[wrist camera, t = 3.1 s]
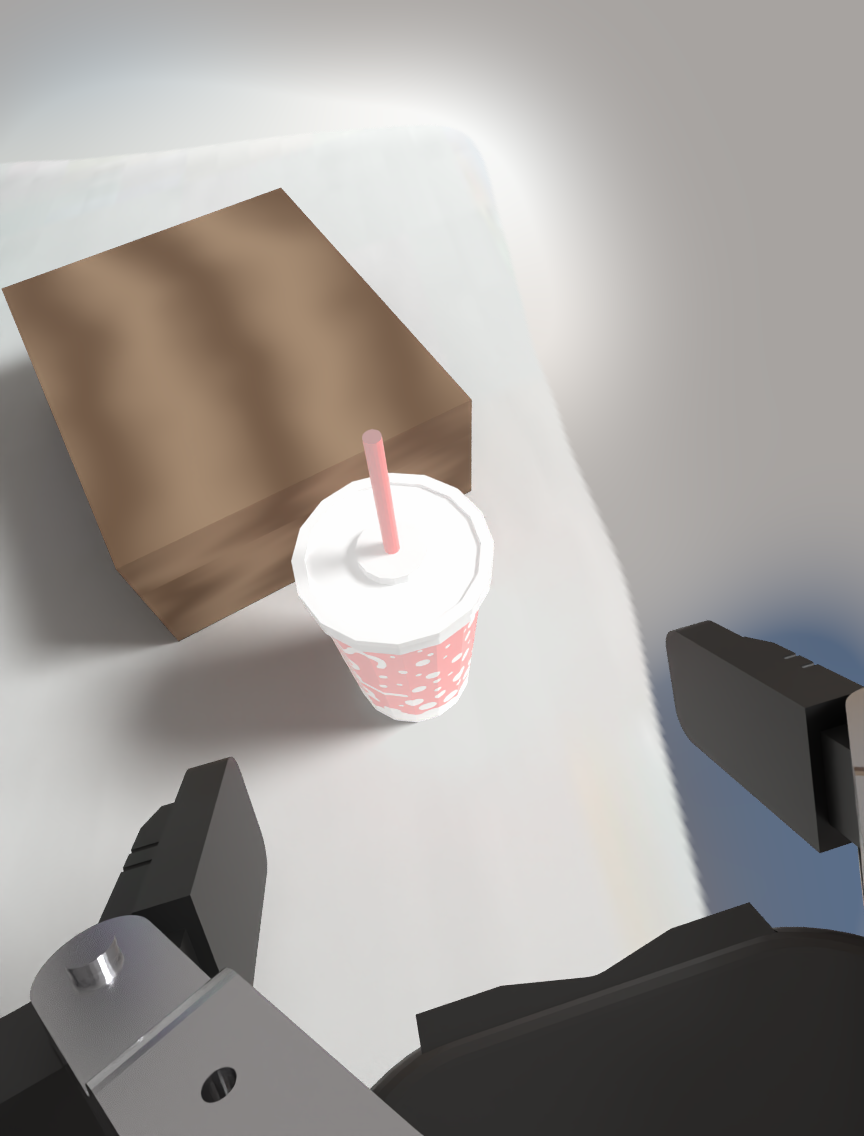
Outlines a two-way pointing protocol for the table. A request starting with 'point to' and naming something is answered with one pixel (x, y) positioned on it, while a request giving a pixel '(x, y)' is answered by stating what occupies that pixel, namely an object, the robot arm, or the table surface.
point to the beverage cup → (397, 584)
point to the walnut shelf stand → (229, 398)
